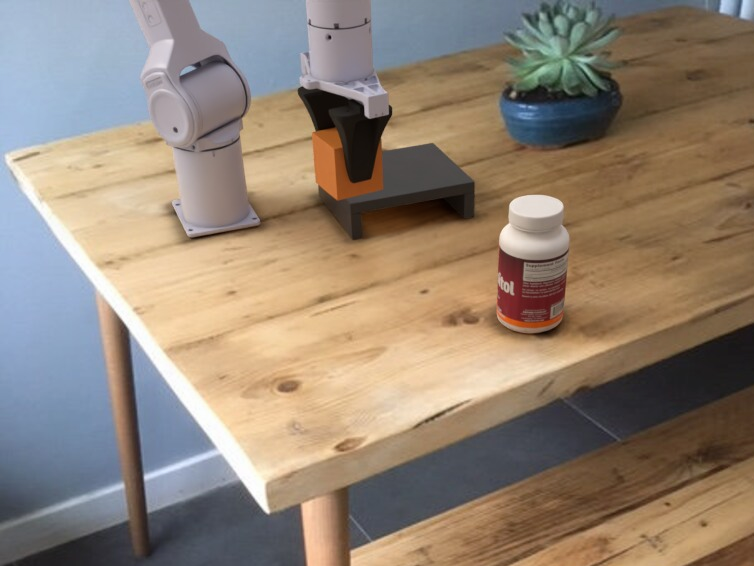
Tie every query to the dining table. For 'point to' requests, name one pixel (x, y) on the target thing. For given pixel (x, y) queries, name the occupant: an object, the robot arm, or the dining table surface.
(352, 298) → the dining table surface
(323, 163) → the cube
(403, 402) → the dining table surface
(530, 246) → the pill bottle
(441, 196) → the shelf
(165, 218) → the dining table surface
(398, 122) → the dining table surface
